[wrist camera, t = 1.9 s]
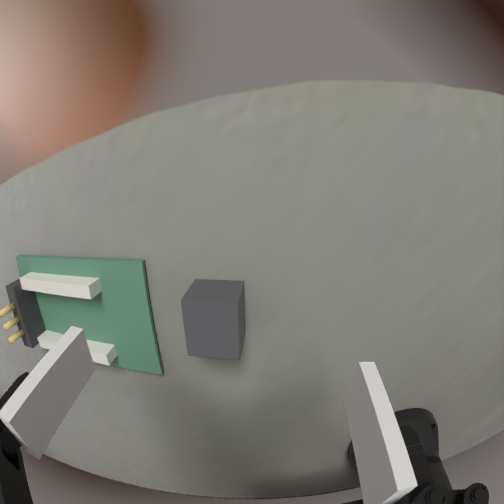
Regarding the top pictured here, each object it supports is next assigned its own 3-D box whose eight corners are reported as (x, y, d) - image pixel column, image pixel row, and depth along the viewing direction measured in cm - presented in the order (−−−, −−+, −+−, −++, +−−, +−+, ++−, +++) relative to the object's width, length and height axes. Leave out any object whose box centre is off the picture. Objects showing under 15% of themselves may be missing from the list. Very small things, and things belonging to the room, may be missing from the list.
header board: (163, 372, 33) (142, 412, 26) (43, 345, 35) (16, 370, 28) (144, 259, 29) (108, 287, 22) (18, 255, 31) (-18, 272, 23)
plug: (244, 332, 30) (239, 359, 26) (198, 329, 31) (186, 355, 26) (244, 280, 29) (237, 303, 24) (193, 279, 29) (178, 300, 24)
